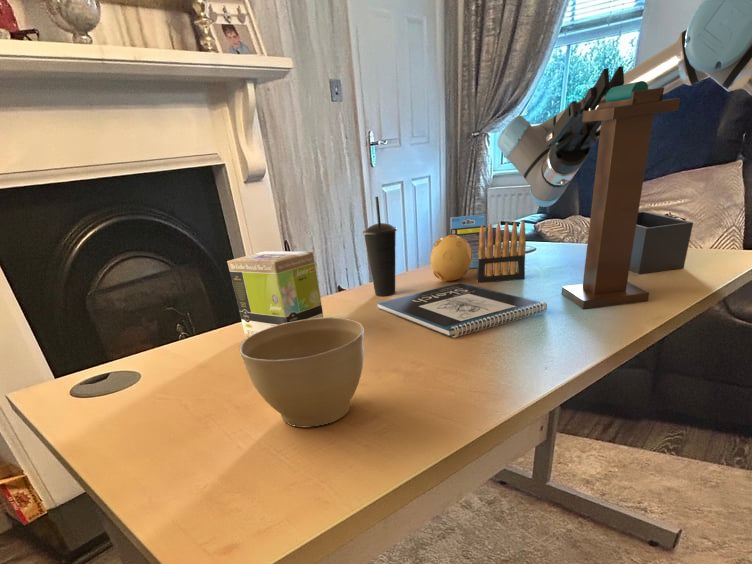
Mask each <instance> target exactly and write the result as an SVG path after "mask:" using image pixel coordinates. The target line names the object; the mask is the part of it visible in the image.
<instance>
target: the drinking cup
mask: <svg viewBox="0 0 752 564" xmlns="http://www.w3.org/2000/svg"><path fill="white" fill-rule="evenodd" d="M374 199H375V209H376V210H375V211H376V220H377V223H375V224H372V225H370V226H369V227H367V228H366V229H365V230H363V231H362V235H363V236H364V241H365V245H366V251H367V256H368V262H369V267H370V272H371V278H372V283H373V289H374V294H375V296H377V297H388V296H392V295H395V294H396V291H397V288H396V287H397V286H396V285H397V282H396V281H397V280H396V277H397V276H396V275H397V272H396V271H397V270H396V267H397V264H396V263H397V261H396V257H397V254H396V253H397V251H396V250H397V243H396V242H397V240H396V239H397V236H396V235H397V231H398V228H397V227H396V226H394V225H392V224H389V223H384V222H381V210H380V199H379V196H375V197H374Z"/></svg>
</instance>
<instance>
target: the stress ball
mask: <svg viewBox="0 0 752 564" xmlns="http://www.w3.org/2000/svg"><path fill="white" fill-rule="evenodd" d="M429 261H430V266H431V269H432V272H433V273H432V274H433V275H434V276H435V277H436V278H437V279H438V280H439V281H447V282H454V281H456V280H459V279H461V278H462V277H463V276H465V275H466V273H468V271H469V267H470V265H471V261H472V250H471V248H470V246H469V244H468V242H467V241H466V240H465V239H463V238H461V237H459V236H457V235H451V234H448V235H446V236H444V237H442V238H438V239H437V240H436V242H435V243H434V244H433V247H432V250H431V253H430V260H429Z"/></svg>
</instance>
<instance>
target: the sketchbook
mask: <svg viewBox="0 0 752 564" xmlns="http://www.w3.org/2000/svg"><path fill="white" fill-rule="evenodd" d="M376 305H377V309H380V310H382V311H384V312H387V313H389V314H391V315H395V316H397V317H399V318H402V319H405V320H407V321H410V322H412V323H414V324H417V325H420V326H421V327H422V326H423V327H425V328H427V329H430V330H433V331H435V332H437V333H440V334H442V335H444V336H448V337H452V338H454V339H455V338H458V337H462V336H465V335H469V334H473V333H474V332H475V333H477V332H479V331H482V330H486V329H490V328H494V327H498V326H502V325H505V324H508V323H513V322H516V321H520V320H523V319H526V318H527V319H528V318H530V317H534V316H536V315H537V316H538V315H541V314H544V313H546V312H547V310H548V303H546V302H543V301H538V300H533V299H529V298H526V297H521V296H517V295H513V294H509V293H505V292H501V291H497V290H492V289H488V288H484V287H480V286H476V285H472V284H468V283H463V282H457V283H453V284H449V285H445V286H442V287H436V288H432V289H429V290H425V291H421V292H416V293H411V294H408V295H404V296H399V297H396V298H391V299H387V300H384V301H379V302H377V303H376Z"/></svg>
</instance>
